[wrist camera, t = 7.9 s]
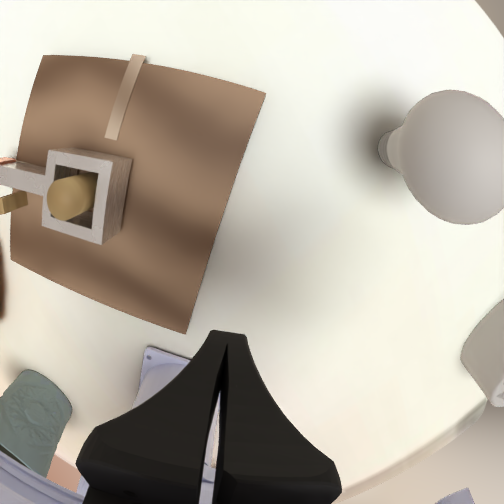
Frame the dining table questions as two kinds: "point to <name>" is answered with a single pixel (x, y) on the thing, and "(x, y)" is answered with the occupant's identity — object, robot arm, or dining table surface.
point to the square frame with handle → (65, 165)
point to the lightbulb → (451, 156)
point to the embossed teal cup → (32, 420)
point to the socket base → (132, 178)
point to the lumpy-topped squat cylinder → (487, 355)
